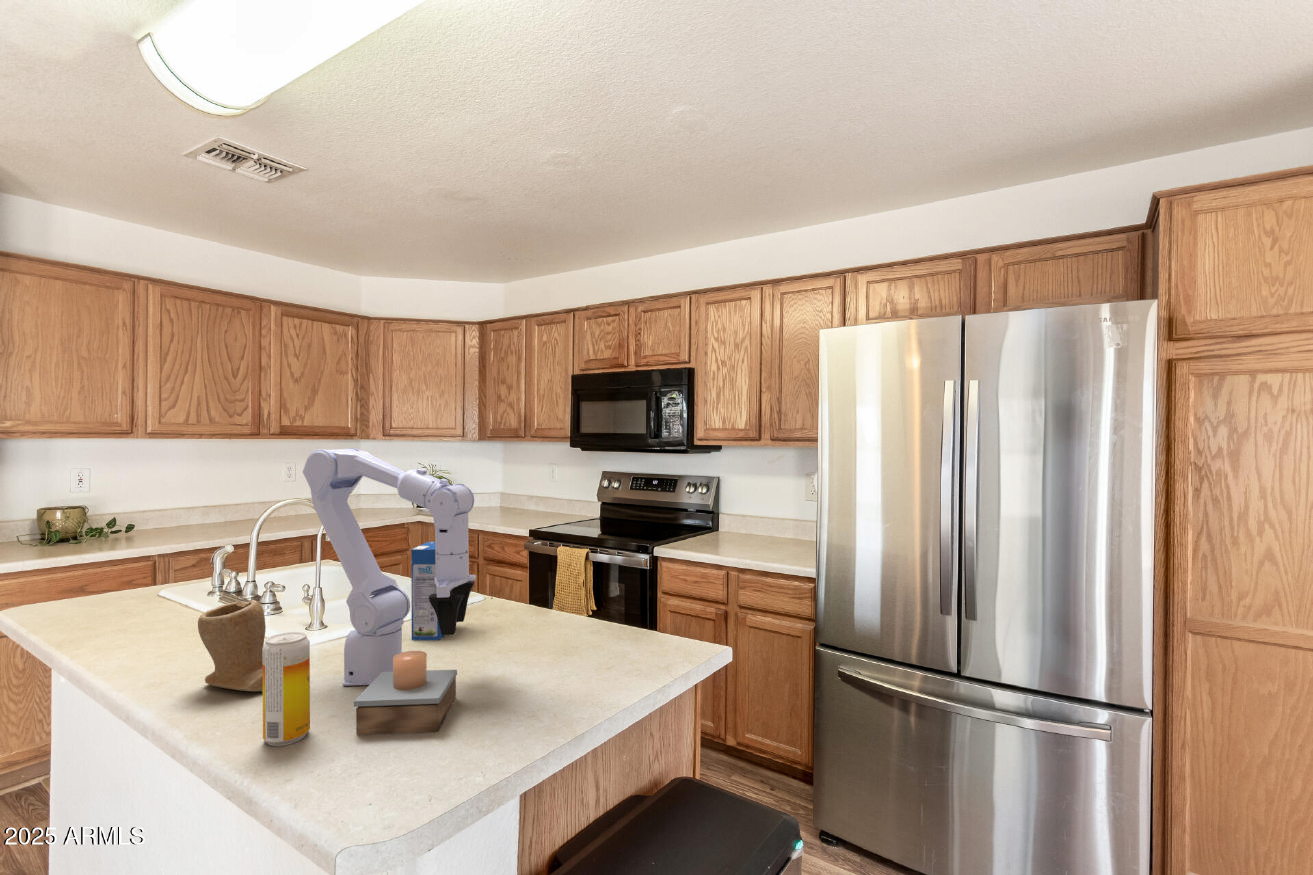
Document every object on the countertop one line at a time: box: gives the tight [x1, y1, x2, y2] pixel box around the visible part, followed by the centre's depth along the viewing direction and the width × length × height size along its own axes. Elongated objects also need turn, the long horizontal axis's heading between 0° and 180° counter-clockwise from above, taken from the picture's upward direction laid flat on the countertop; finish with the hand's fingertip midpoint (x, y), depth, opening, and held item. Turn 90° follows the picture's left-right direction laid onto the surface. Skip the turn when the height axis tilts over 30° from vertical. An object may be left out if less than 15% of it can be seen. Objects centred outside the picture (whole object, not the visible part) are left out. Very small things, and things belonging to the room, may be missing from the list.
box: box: [355, 676, 457, 736], centre depth 102 cm, size 12×12×4 cm
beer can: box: [262, 631, 311, 747], centre depth 95 cm, size 6×6×15 cm
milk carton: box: [410, 541, 446, 641], centre depth 144 cm, size 10×6×20 cm, turn 179°
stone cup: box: [197, 599, 267, 692], centre depth 114 cm, size 15×12×15 cm
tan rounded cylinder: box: [393, 650, 428, 690], centre depth 102 cm, size 5×5×4 cm
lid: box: [353, 668, 458, 708], centre depth 102 cm, size 12×12×1 cm
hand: (453, 627), depth 114 cm, fingers open, 7 cm apart
